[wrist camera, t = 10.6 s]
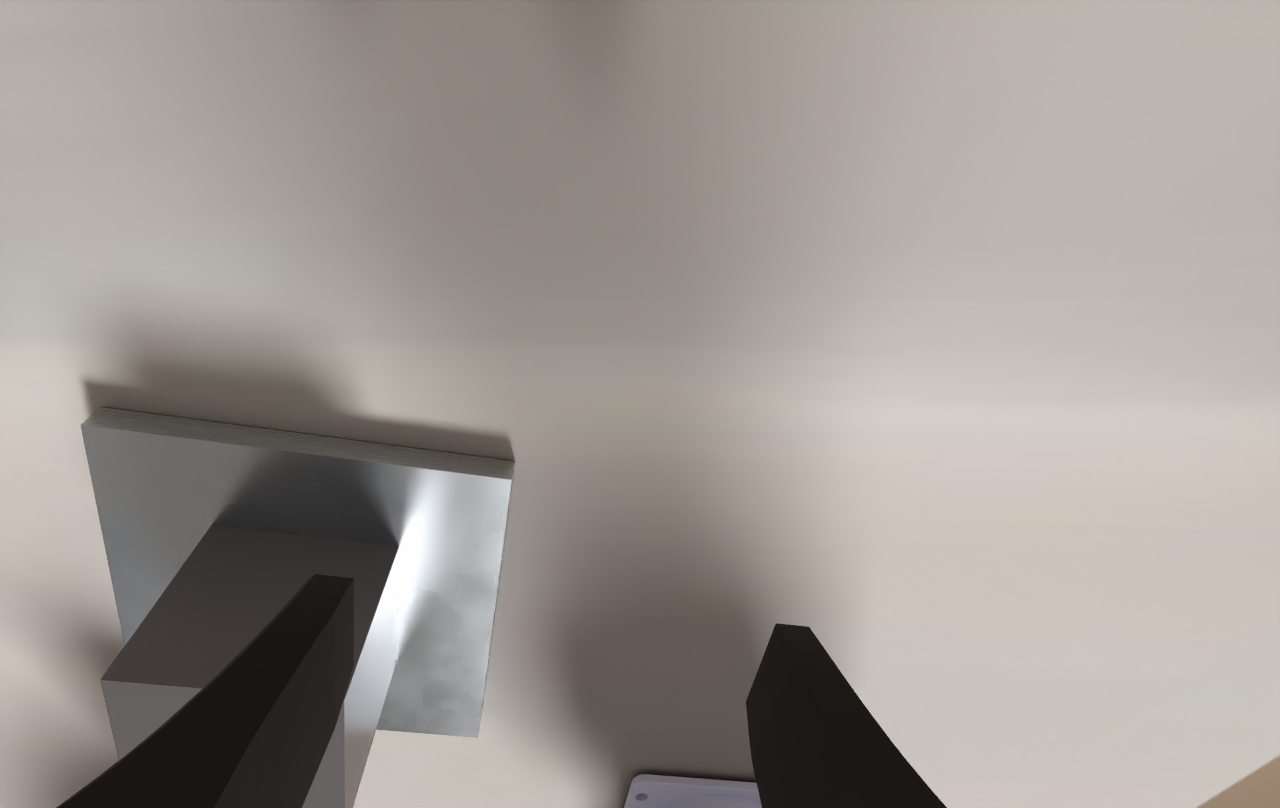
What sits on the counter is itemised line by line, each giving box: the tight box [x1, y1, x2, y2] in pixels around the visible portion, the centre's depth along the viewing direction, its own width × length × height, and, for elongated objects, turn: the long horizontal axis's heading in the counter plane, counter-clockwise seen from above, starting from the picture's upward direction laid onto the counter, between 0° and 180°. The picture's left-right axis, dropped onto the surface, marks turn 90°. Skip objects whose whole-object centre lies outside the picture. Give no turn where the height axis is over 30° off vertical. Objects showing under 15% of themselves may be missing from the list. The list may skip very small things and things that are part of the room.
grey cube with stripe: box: [101, 525, 399, 808], centre depth 22 cm, size 6×6×6 cm
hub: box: [81, 407, 515, 738], centre depth 23 cm, size 12×12×5 cm
